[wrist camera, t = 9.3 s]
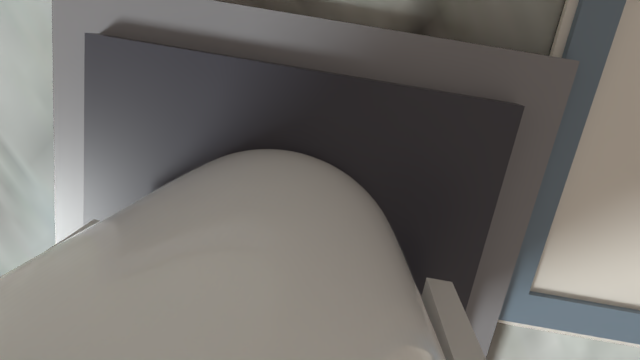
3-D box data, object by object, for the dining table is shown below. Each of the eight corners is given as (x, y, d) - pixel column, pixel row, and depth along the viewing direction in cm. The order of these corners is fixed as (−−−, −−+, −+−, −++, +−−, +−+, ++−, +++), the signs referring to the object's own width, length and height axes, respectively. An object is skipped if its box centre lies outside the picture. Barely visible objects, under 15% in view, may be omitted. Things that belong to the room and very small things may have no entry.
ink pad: (71, -22, 14) (33, -32, 13) (564, 60, 14) (594, 61, 12) (71, 382, 19) (43, 416, 17) (444, 450, 19) (454, 491, 17)
